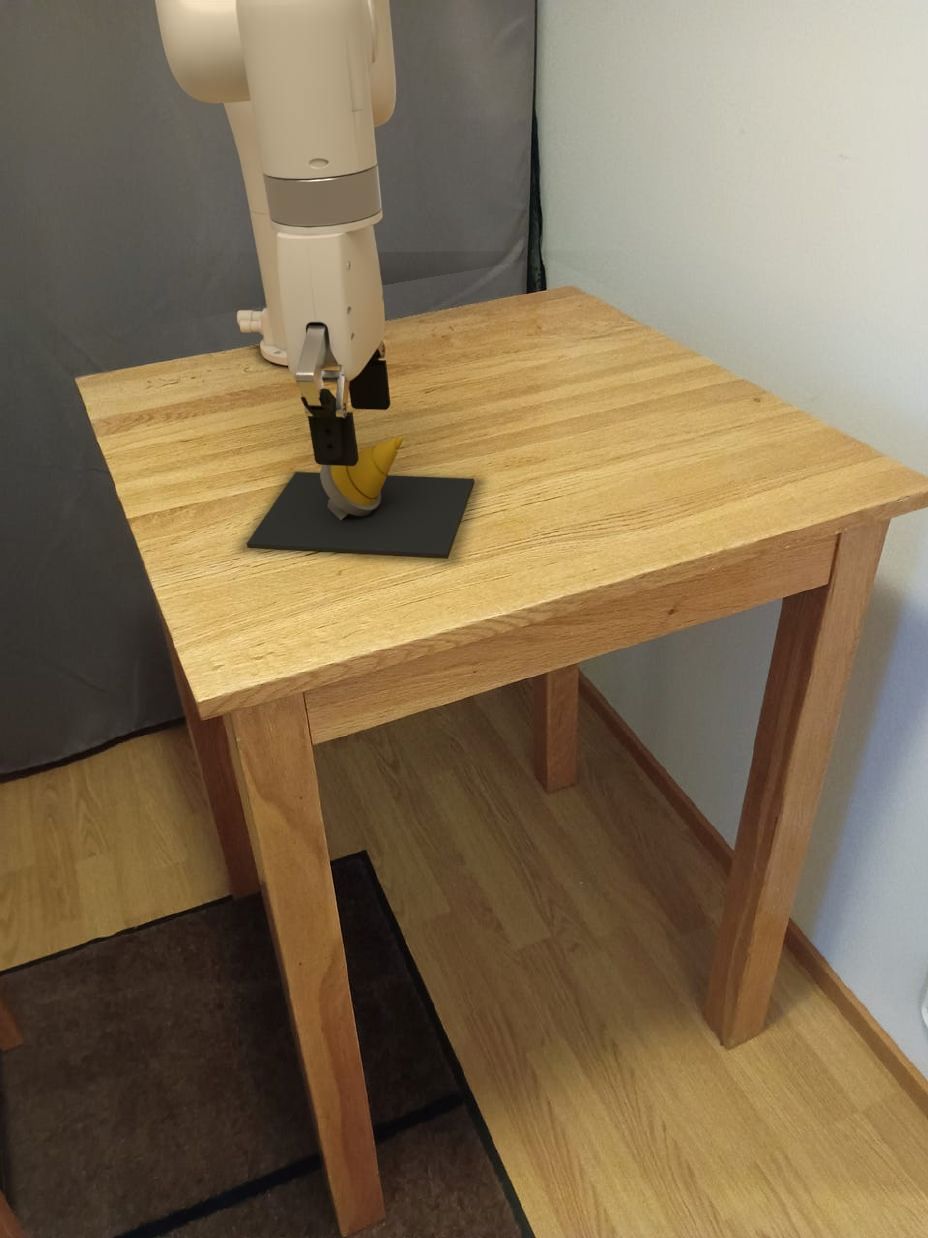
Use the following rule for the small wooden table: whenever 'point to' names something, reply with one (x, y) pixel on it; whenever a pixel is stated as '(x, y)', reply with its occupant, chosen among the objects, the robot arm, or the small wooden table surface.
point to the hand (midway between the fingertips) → (355, 434)
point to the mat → (368, 518)
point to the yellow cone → (359, 480)
